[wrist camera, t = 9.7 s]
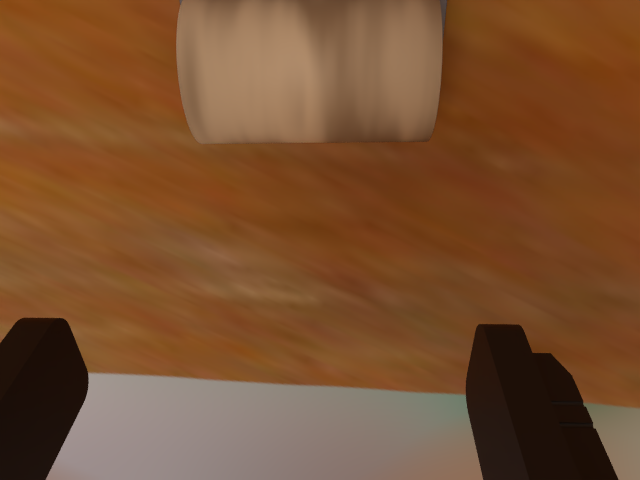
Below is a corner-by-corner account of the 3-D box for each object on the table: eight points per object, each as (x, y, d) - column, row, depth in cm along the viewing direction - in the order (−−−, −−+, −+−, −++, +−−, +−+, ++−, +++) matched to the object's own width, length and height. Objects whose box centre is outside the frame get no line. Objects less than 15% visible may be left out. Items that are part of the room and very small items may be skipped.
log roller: (425, -25, 26) (449, 4, 21) (414, 110, 30) (432, 166, 25) (202, -20, 27) (165, 10, 21) (221, 112, 31) (194, 168, 25)
